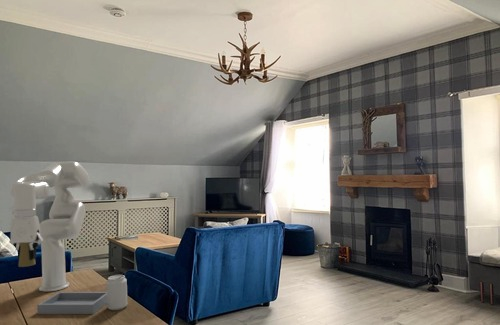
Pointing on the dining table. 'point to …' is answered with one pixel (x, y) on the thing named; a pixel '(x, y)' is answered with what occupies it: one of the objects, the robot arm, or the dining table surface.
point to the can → (116, 292)
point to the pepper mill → (25, 256)
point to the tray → (73, 303)
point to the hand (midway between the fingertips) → (27, 258)
